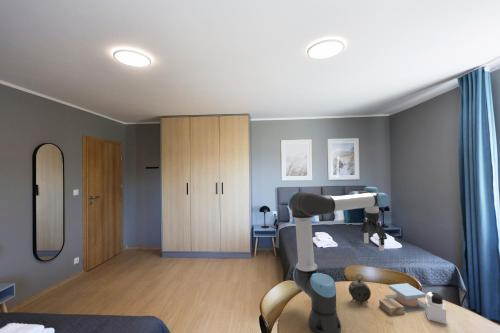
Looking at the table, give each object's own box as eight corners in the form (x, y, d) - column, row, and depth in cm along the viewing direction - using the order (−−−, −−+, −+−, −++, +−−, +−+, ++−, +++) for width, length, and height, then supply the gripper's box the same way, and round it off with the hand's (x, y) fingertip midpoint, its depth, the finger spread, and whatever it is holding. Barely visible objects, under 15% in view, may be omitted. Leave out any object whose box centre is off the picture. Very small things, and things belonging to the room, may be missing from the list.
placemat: (406, 313, 115) (406, 312, 115) (384, 296, 130) (383, 295, 130) (433, 309, 117) (433, 309, 117) (407, 293, 132) (407, 293, 132)
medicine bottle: (443, 316, 111) (441, 292, 112) (447, 324, 105) (445, 299, 106) (425, 312, 115) (424, 289, 115) (428, 320, 109) (426, 295, 109)
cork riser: (390, 316, 112) (390, 308, 112) (379, 307, 120) (379, 299, 120) (404, 314, 113) (404, 306, 113) (392, 305, 121) (392, 298, 121)
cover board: (405, 299, 117) (405, 296, 117) (389, 288, 129) (388, 284, 129) (425, 297, 119) (425, 294, 119) (407, 286, 130) (407, 283, 130)
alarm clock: (368, 300, 126) (367, 272, 127) (372, 306, 121) (371, 276, 122) (348, 300, 128) (347, 272, 128) (352, 305, 122) (350, 276, 123)
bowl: (406, 308, 118) (406, 298, 118) (392, 298, 128) (392, 288, 128) (422, 306, 119) (421, 296, 120) (407, 296, 129) (407, 287, 129)
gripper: (393, 215, 123) (395, 253, 122) (364, 208, 148) (366, 240, 147) (381, 216, 122) (382, 254, 121) (354, 209, 147) (355, 240, 146)
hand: (373, 246), depth 134 cm, fingers open, 13 cm apart
